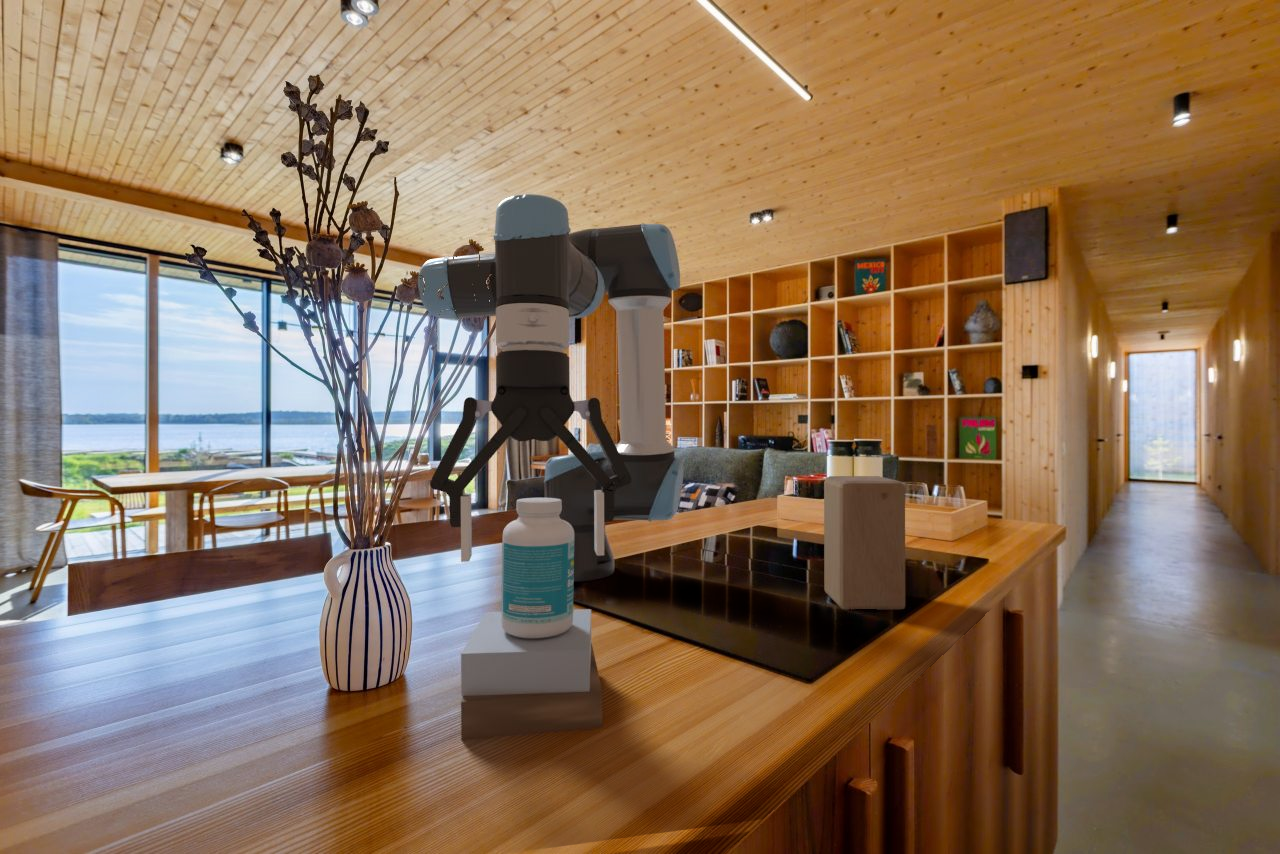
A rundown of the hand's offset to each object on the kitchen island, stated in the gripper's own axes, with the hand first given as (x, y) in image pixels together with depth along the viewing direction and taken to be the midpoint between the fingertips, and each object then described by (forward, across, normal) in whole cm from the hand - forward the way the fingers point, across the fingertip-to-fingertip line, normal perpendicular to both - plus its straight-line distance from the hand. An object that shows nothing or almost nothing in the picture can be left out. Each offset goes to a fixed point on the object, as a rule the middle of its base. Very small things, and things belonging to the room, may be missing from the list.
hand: (534, 556), depth 61 cm
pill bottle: (+8, 0, 0) cm, 8 cm away
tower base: (+16, 0, 0) cm, 16 cm away
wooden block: (+15, +52, +24) cm, 59 cm away
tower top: (+12, 0, 0) cm, 12 cm away
